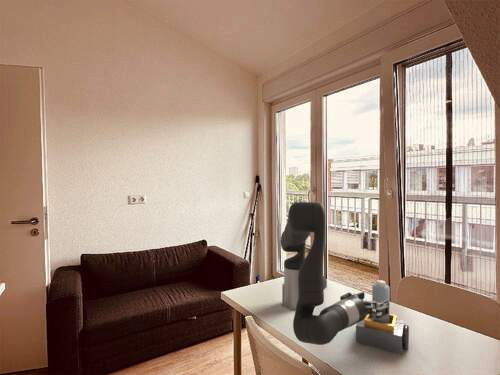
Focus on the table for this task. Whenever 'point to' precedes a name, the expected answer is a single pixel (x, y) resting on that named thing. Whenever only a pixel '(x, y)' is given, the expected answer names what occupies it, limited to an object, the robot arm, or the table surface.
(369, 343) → the gold-trimmed base block
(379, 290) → the light blue bottle
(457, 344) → the table surface
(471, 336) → the table surface
